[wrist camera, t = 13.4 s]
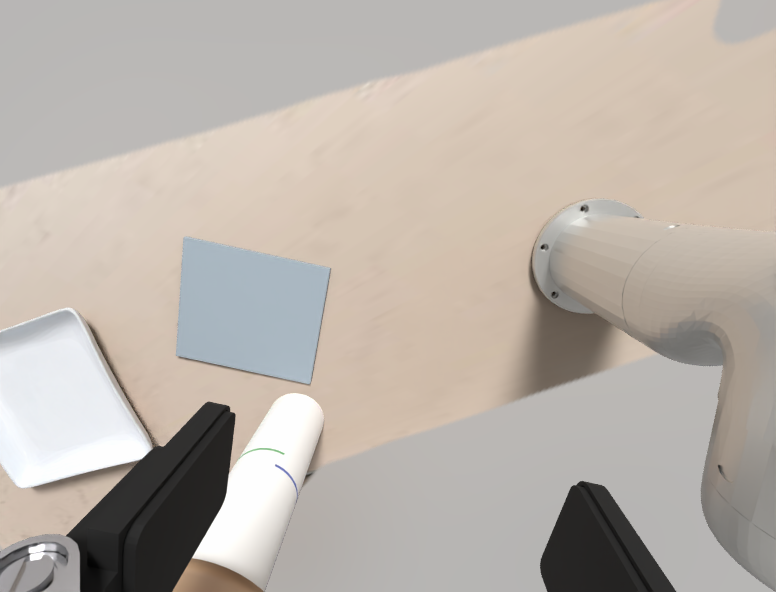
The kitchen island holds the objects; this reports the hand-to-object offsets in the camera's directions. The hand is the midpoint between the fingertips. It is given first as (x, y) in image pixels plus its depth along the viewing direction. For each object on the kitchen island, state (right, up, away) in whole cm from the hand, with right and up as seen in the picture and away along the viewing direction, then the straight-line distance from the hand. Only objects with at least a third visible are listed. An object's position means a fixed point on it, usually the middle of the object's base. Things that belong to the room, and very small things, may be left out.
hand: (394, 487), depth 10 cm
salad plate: (-43, -8, +40) cm, 60 cm away
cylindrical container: (-12, -11, +39) cm, 42 cm away
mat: (-17, +3, +36) cm, 39 cm away
